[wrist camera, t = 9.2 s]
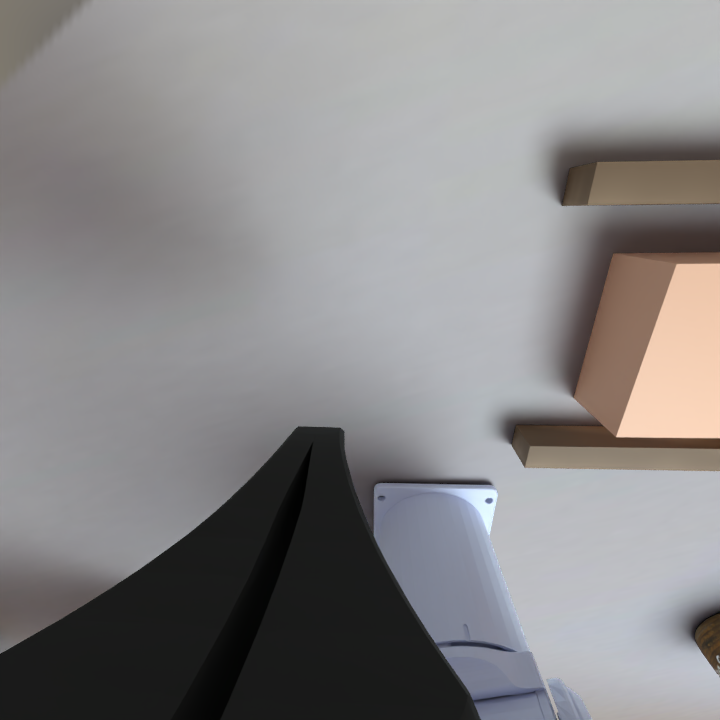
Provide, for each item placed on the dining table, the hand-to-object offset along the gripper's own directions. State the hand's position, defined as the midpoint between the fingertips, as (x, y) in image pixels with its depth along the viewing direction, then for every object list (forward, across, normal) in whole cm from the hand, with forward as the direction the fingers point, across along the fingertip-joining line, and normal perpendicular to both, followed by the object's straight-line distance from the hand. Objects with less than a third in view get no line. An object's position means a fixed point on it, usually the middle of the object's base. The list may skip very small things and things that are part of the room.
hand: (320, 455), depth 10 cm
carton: (+10, -17, -1) cm, 20 cm away
